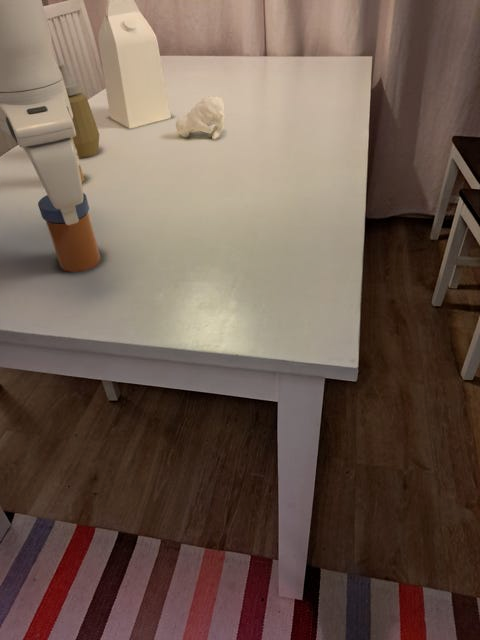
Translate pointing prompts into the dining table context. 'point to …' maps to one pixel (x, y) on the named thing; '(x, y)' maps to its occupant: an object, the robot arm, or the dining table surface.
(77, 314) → the dining table surface
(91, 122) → the squeeze bottle
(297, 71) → the dining table surface
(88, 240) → the jar
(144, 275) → the dining table surface
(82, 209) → the lid
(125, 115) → the milk
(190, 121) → the white lumpy piece
